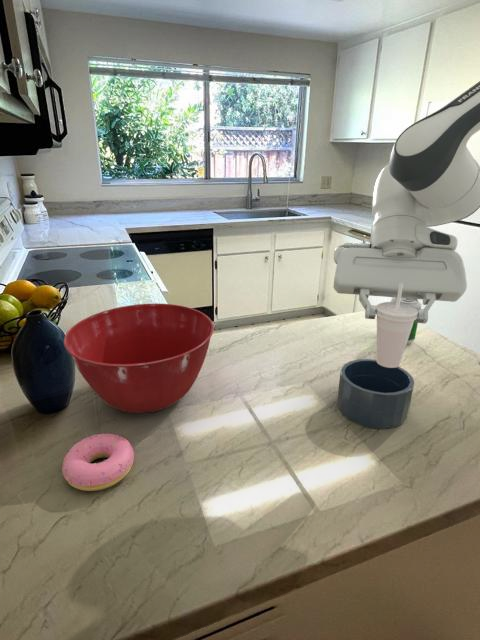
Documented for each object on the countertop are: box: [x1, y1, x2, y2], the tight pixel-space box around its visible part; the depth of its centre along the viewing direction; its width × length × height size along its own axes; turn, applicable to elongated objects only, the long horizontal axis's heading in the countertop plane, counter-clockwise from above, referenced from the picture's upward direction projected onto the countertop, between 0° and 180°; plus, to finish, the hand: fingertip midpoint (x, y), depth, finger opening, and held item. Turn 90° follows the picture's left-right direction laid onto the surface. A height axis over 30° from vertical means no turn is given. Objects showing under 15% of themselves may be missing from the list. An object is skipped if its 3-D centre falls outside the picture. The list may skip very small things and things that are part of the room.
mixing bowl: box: [63, 302, 215, 414], centre depth 82 cm, size 28×28×16 cm
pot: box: [336, 358, 415, 430], centre depth 80 cm, size 14×14×8 cm
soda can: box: [390, 297, 422, 346], centre depth 109 cm, size 8×8×12 cm
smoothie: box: [375, 283, 418, 368], centre depth 65 cm, size 6×6×14 cm
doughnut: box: [61, 432, 135, 492], centre depth 64 cm, size 11×11×4 cm
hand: (395, 319), depth 64 cm, fingers closed on smoothie, 6 cm apart
